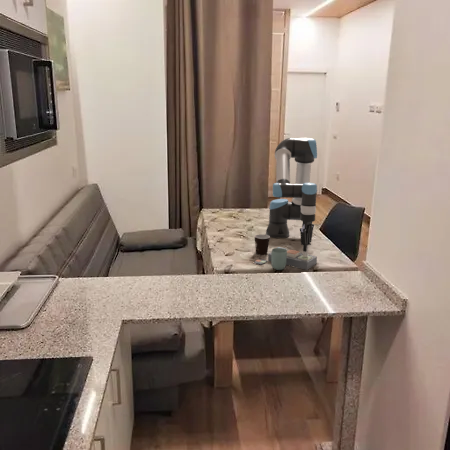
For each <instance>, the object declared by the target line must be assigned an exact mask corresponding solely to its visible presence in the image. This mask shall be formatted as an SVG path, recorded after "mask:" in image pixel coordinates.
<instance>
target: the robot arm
mask: <svg viewBox="0 0 450 450" xmlns="http://www.w3.org/2000/svg"><path fill="white" fill-rule="evenodd" d="M274 150H275V151H274V158H275V160H276V161H275V162H276V166H275V167H276V168H275V171H276V172H275V173H276V176H275V177H276V178H275V179H276V182H274V183H272V197H274V198H277V199H273V200H271V201H270V202H269V212H268V215H269V216H268V217H269V218H268V225H267V227H266V230H265V235H268V236H270V238H275V239H285V238H289V237H290V230H289V227H288V221H301V222H302V225H301V228H299V233H300V245H301V246H302V253H303V255H302V257H308V255H310V254H309V251H310V246H311V245H312V238H313V232H314V227H315V224H314V222H315V221H316V210H317V208H316V207H317V204H316V203H317V192H318V185H317V184H316V183H314V182H310V181H311V173H312V172H311V170H312V169H311V168H312V164H313V163H314V162H315V159H317V158H318V148H317V140H316V139H315V138H311V137H287V138H285V139H283V140H281V141H280V142H279V144H278V145H277V146H276V148H275V149H274ZM291 158H292V159H294V162H295V163H296V172H295V183H291V166H290V165H291V162H290V161H291ZM287 198H289V199H291V201H289V200H288V199H287Z"/></svg>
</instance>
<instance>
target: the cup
mask: <svg viewBox="0 0 450 450" xmlns="http://www.w3.org/2000/svg"><path fill="white" fill-rule="evenodd" d="M283 248H284V247H281V248H277V247H275V248H272V249H271V251H270V253H271V267H272V269H275V270H277V271H283V270H284V269H285V267H286V266H287V265H286V260H287V250H288V249H287V248H285V249H283ZM286 249H287V250H286Z"/></svg>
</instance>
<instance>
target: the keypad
mask: <svg viewBox="0 0 450 450" xmlns="http://www.w3.org/2000/svg"><path fill="white" fill-rule="evenodd" d="M289 250H290V249H289ZM289 250H288V249H287V251H289ZM267 255H268V256H267V262H270V261H271V252H270V253H267ZM302 255H303V252H300V255H299V256H298V257H296V258H293V257H288V256H287V260H286V266H288V265H290V266H289V267H292V266H294V267H293V268H296V267H297V269H301V270H306V271H308V270H309V269H310V268H312V267H314V266H315V265H316V263H317V261H318V257H317V256H318V255H317V256H316V255H313V254H308V256H311V257H313V258H312V259H310V260H309V261H307V260H302V259H298V258H299V257H300V256H302Z"/></svg>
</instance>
